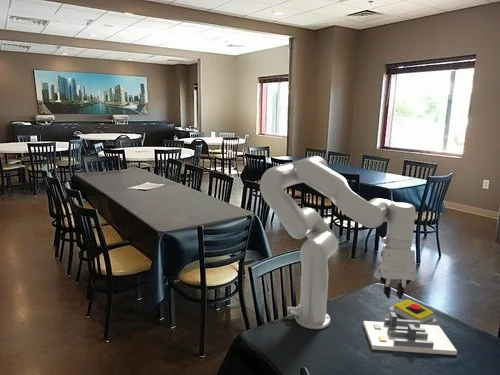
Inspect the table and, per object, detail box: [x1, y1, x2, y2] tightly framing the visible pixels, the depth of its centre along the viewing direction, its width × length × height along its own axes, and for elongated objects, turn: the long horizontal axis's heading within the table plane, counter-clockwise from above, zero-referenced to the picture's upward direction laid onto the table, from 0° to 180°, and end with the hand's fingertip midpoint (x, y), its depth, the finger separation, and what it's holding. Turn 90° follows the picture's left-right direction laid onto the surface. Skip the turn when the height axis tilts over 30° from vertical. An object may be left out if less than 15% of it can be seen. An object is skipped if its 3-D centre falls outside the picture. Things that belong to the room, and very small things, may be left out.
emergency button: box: [388, 299, 437, 325], centre depth 139 cm, size 9×4×15 cm
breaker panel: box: [362, 317, 458, 356], centre depth 124 cm, size 26×14×3 cm, turn 85°
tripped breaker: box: [407, 324, 416, 340], centre depth 120 cm, size 2×3×5 cm, turn 175°
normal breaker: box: [388, 311, 398, 327], centre depth 127 cm, size 2×3×5 cm, turn 174°
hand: (393, 296), depth 118 cm, fingers open, 3 cm apart
